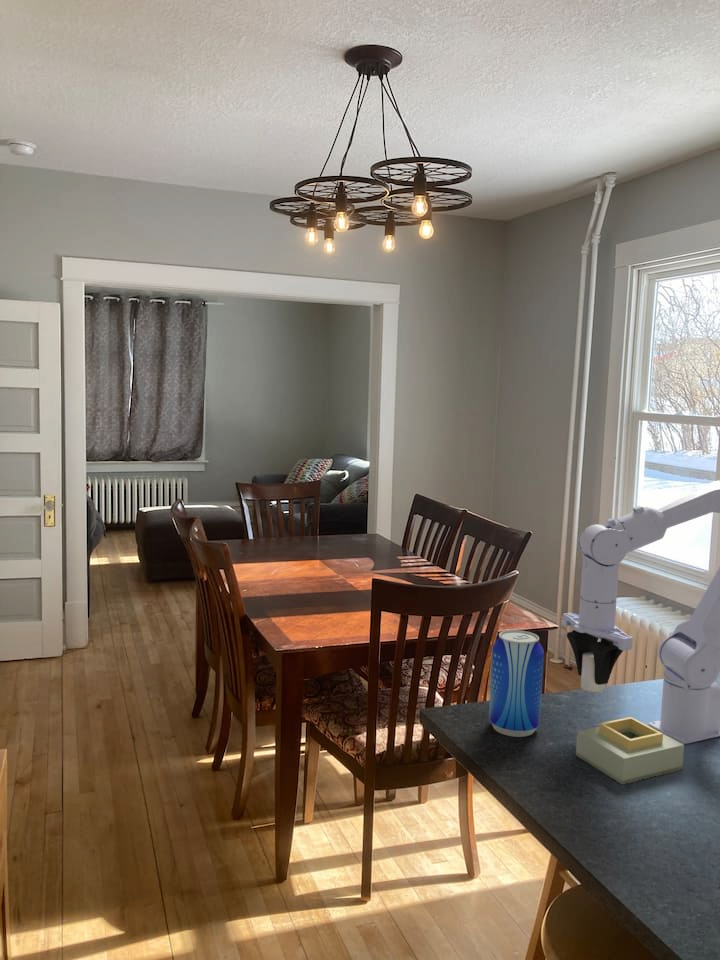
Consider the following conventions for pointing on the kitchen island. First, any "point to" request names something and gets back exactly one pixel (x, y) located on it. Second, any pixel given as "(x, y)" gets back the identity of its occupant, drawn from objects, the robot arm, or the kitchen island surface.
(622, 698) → the kitchen island surface
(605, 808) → the kitchen island surface
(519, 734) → the beer can
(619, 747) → the square stacking base
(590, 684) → the pellet
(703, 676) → the robot arm
